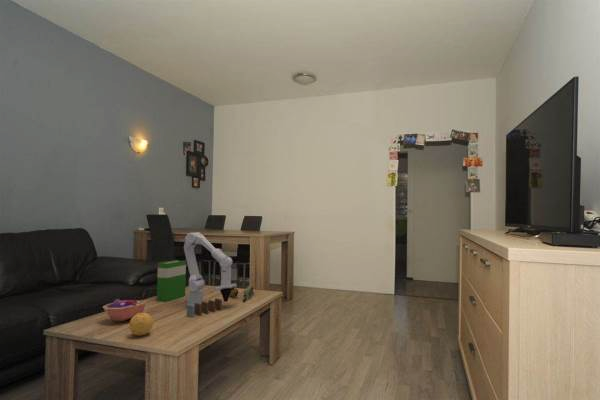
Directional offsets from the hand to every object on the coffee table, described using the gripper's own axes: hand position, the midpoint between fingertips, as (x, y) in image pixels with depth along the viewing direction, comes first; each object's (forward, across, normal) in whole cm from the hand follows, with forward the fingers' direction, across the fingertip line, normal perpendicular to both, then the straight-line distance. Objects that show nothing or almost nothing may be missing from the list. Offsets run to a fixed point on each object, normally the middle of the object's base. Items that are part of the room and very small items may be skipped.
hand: (225, 301), depth 206 cm
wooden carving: (+4, +20, +21) cm, 29 cm away
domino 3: (+4, -14, 0) cm, 15 cm away
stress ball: (+4, -54, -9) cm, 55 cm away
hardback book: (+4, -9, +45) cm, 46 cm away
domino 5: (+4, -5, 0) cm, 6 cm away
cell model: (+4, -49, +20) cm, 53 cm away
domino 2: (+4, -19, 0) cm, 19 cm away
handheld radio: (+4, +25, +10) cm, 27 cm away
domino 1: (+4, -23, 0) cm, 24 cm away
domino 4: (+4, -10, 0) cm, 10 cm away
